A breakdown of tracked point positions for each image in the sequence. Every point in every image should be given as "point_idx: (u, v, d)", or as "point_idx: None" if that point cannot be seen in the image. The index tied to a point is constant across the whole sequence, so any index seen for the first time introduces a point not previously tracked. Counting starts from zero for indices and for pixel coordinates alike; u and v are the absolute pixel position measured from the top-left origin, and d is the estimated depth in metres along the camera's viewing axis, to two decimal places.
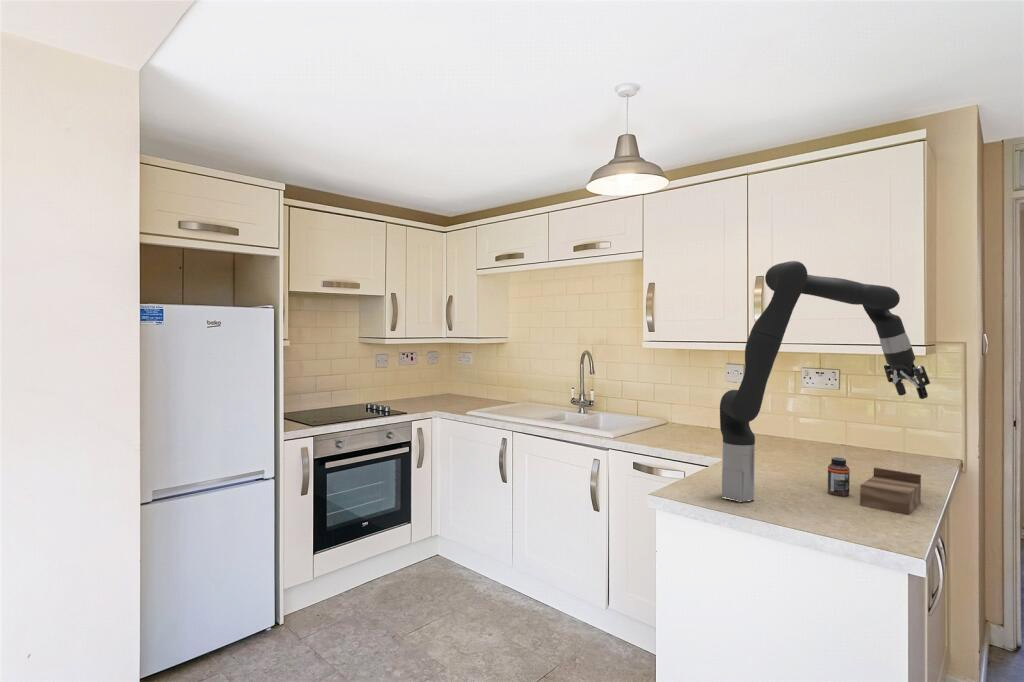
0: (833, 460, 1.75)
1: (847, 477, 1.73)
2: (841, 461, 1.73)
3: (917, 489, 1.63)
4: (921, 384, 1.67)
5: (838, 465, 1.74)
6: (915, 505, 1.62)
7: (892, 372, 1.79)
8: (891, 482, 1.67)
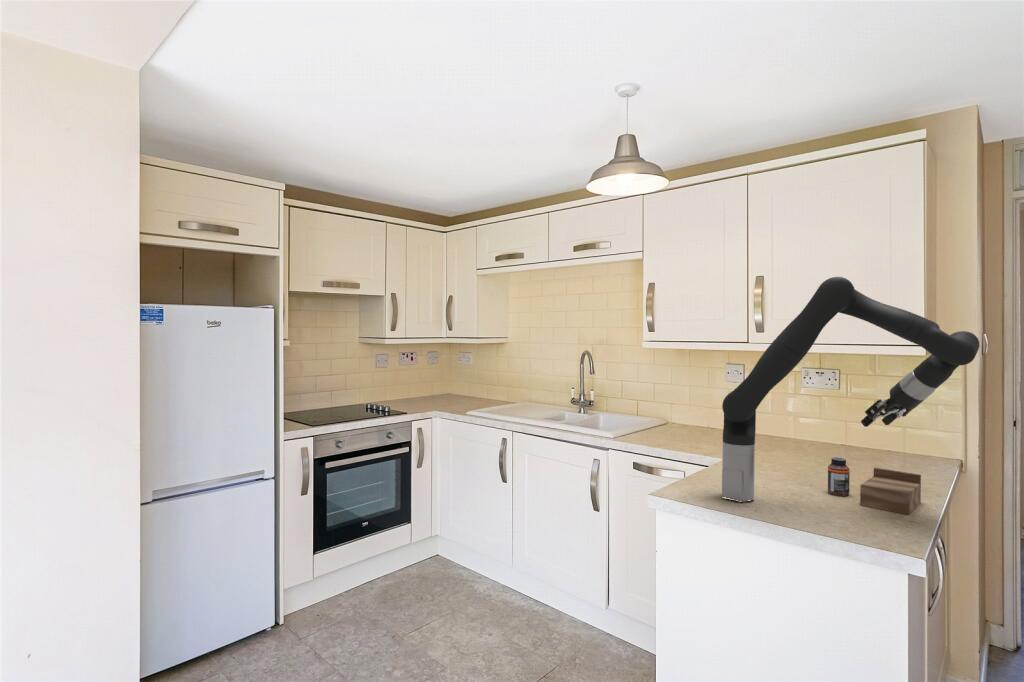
0: (833, 460, 1.75)
1: (847, 477, 1.73)
2: (841, 461, 1.73)
3: (917, 489, 1.63)
4: None
5: (838, 465, 1.74)
6: (915, 505, 1.62)
7: (906, 407, 1.61)
8: (891, 482, 1.67)
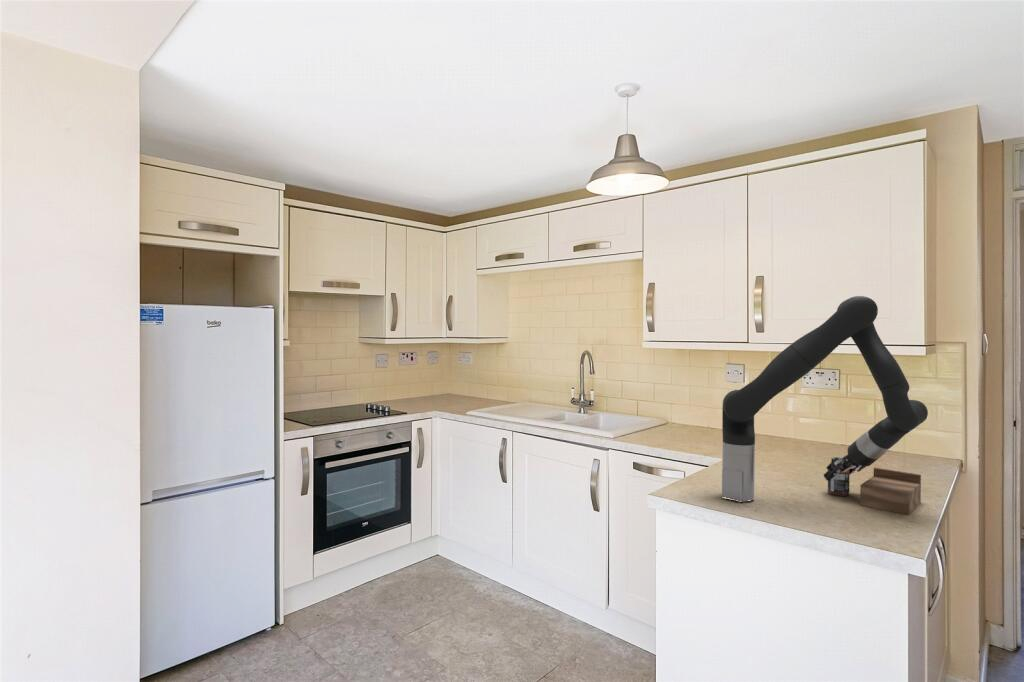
0: None
1: (847, 477, 1.73)
2: None
3: (917, 489, 1.63)
4: (827, 466, 1.73)
5: None
6: (915, 505, 1.62)
7: None
8: (891, 482, 1.67)
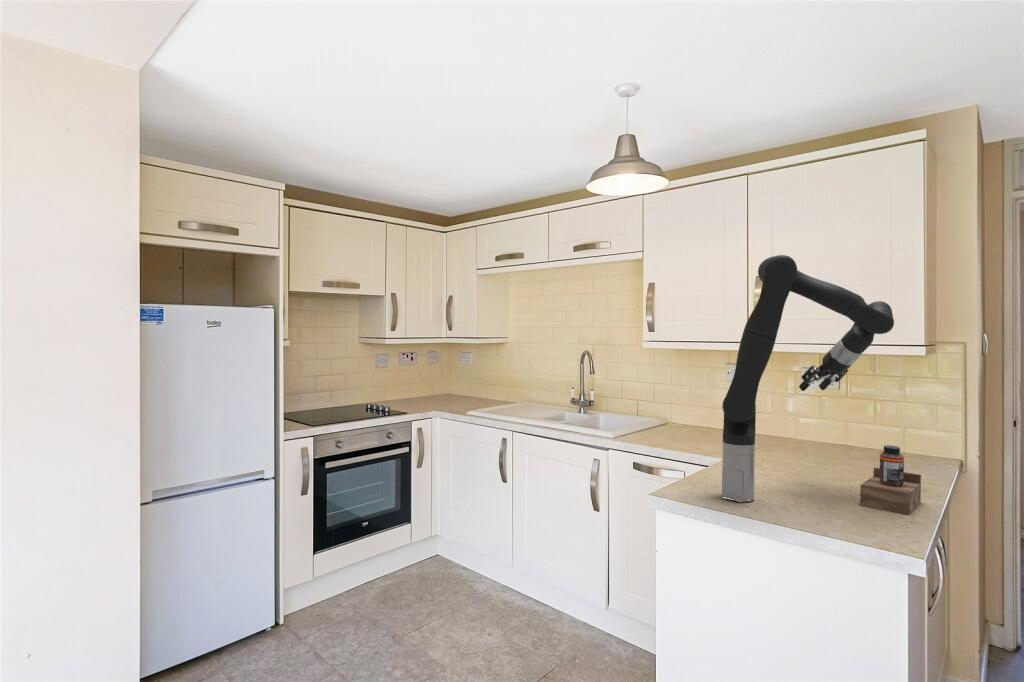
0: (886, 448, 1.65)
1: (901, 466, 1.62)
2: (895, 449, 1.63)
3: (917, 489, 1.63)
4: None
5: (892, 453, 1.63)
6: (915, 505, 1.62)
7: (838, 374, 1.80)
8: None
